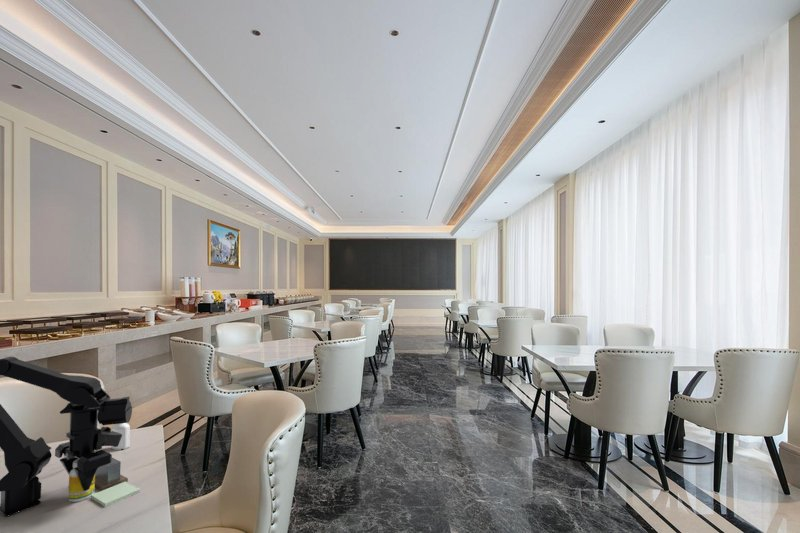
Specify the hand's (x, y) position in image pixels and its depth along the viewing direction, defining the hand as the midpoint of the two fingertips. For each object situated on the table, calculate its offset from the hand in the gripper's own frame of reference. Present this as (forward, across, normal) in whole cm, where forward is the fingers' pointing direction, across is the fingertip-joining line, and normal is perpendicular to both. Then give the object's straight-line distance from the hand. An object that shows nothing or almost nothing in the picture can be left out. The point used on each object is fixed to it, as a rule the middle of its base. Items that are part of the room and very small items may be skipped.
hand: (81, 487), depth 101 cm
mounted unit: (+2, +3, -7) cm, 8 cm away
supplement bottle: (+3, 0, 0) cm, 3 cm away
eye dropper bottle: (+3, +26, -20) cm, 33 cm away
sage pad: (+2, -7, -5) cm, 9 cm away
